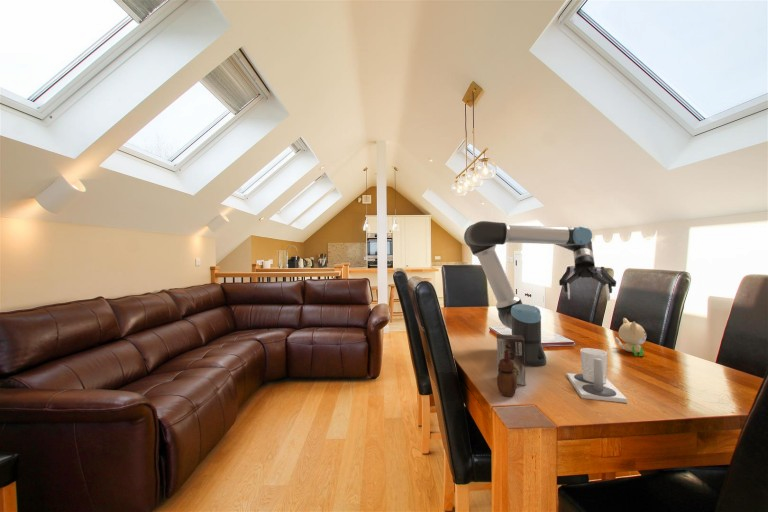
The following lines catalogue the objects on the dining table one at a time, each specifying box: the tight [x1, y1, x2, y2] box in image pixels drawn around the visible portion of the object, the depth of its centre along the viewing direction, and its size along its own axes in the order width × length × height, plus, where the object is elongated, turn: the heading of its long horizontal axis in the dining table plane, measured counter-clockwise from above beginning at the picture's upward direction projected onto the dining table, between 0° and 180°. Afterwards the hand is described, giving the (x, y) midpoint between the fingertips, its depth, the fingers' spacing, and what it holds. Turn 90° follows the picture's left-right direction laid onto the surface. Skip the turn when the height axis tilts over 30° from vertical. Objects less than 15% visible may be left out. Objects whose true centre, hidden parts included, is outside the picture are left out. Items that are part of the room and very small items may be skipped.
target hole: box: [574, 373, 594, 384], centre depth 109 cm, size 9×9×1 cm
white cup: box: [579, 347, 608, 383], centre depth 108 cm, size 8×8×10 cm
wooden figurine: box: [496, 350, 518, 397], centre depth 101 cm, size 7×6×15 cm
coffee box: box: [496, 333, 527, 386], centre depth 112 cm, size 9×6×16 cm
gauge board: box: [566, 358, 628, 404], centre depth 105 cm, size 12×19×11 cm, turn 162°
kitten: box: [614, 317, 648, 357], centre depth 144 cm, size 15×10×15 cm
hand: (588, 297), depth 127 cm, fingers open, 13 cm apart
